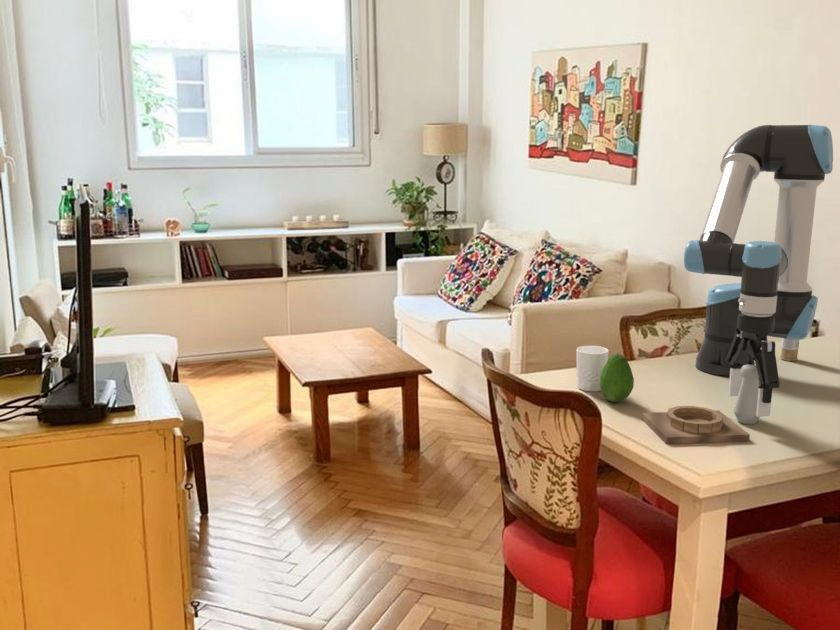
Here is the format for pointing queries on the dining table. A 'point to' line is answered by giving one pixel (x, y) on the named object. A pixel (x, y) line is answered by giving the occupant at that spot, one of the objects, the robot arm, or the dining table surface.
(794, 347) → the sprinkles bottle
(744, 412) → the salt shaker
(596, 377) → the white cup
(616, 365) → the avocado
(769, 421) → the dining table surface
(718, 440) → the cruet board
